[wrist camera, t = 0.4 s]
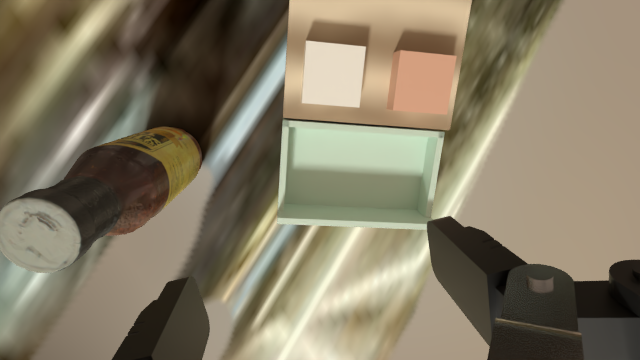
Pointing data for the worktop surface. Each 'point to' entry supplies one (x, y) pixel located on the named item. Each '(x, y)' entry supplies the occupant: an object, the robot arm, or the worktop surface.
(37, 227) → the sauce bottle
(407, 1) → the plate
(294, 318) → the worktop surface
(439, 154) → the box
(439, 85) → the terracotta tile
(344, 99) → the white tile
